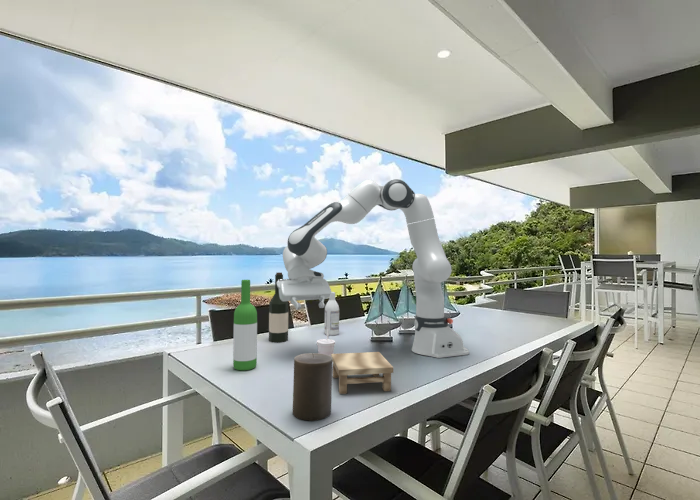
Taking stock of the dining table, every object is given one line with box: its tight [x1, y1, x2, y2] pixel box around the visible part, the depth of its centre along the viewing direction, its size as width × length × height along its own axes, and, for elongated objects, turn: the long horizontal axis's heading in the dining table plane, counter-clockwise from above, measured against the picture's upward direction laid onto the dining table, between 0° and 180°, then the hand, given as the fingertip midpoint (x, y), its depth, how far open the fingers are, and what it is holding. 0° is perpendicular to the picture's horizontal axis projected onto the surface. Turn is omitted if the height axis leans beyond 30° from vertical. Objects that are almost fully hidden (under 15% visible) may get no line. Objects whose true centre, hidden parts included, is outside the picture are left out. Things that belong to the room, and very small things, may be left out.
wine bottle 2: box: [268, 272, 289, 344], centre depth 164 cm, size 8×8×30 cm
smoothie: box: [316, 328, 336, 356], centre depth 126 cm, size 6×6×14 cm
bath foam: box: [324, 291, 340, 336], centre depth 178 cm, size 7×7×20 cm
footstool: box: [331, 351, 394, 395], centre depth 114 cm, size 16×16×7 cm
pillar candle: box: [292, 352, 333, 422], centre depth 94 cm, size 10×10×15 cm
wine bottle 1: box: [232, 279, 258, 371], centre depth 127 cm, size 8×8×30 cm
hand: (310, 307), depth 137 cm, fingers open, 8 cm apart
